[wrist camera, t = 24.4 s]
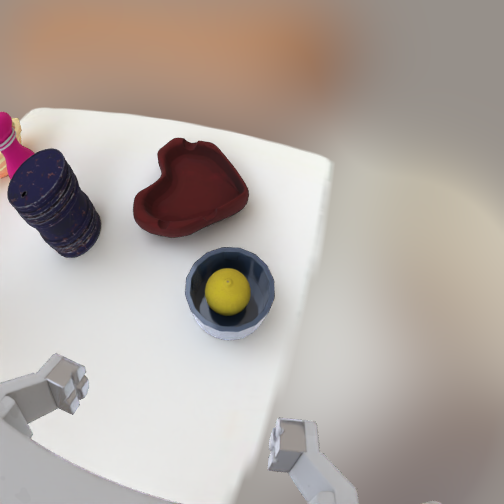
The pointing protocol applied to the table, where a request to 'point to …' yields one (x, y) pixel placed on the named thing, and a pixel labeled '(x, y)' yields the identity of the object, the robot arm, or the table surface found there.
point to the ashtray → (190, 190)
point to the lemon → (227, 292)
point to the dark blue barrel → (54, 203)
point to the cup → (259, 298)
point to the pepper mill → (11, 145)
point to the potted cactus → (0, 161)
